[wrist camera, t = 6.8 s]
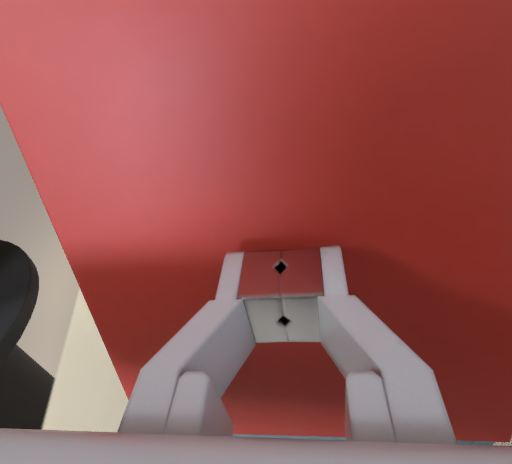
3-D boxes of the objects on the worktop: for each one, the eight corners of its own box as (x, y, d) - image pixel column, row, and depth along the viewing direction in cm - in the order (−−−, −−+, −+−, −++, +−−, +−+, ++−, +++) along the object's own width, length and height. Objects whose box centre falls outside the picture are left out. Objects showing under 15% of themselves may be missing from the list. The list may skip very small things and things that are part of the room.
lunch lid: (-48, -72, 8) (-85, -87, 7) (667, -271, 5) (725, -326, 4) (149, 414, 14) (141, 432, 14) (498, 421, 12) (510, 443, 11)
